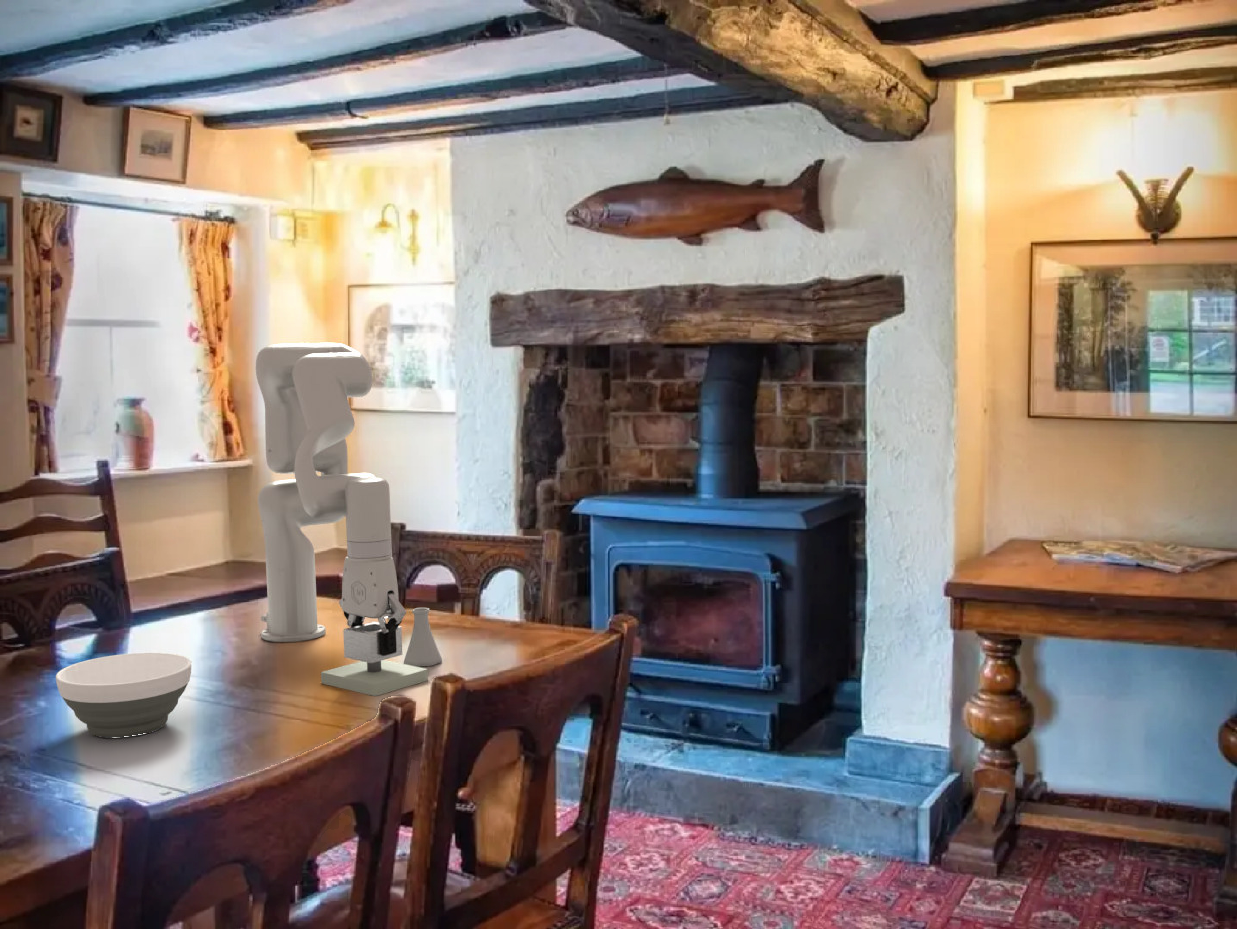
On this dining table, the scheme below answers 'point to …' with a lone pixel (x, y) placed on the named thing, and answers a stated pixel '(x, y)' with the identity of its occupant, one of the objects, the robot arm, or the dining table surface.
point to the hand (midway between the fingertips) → (373, 650)
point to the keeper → (374, 677)
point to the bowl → (124, 691)
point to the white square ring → (367, 643)
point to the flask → (422, 642)
